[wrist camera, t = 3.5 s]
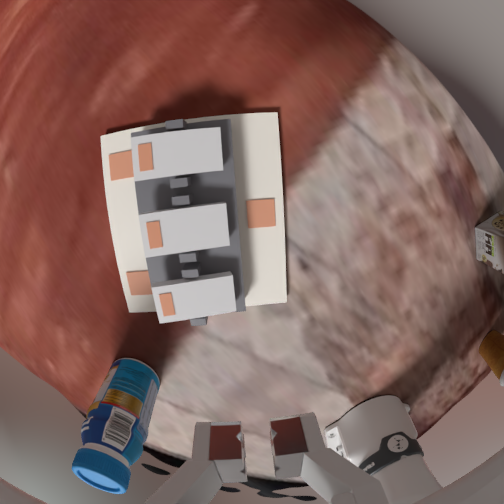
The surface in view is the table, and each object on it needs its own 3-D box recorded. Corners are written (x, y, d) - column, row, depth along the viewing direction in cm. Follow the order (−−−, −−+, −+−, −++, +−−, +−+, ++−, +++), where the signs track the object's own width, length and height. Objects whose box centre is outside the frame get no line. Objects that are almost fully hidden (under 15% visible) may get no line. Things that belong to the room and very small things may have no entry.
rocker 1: (221, 170, 25) (223, 170, 24) (136, 181, 23) (134, 181, 22) (218, 129, 24) (220, 126, 23) (132, 139, 22) (130, 137, 21)
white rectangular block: (234, 306, 30) (236, 311, 28) (159, 317, 28) (159, 324, 26) (230, 271, 28) (232, 275, 27) (152, 283, 26) (151, 288, 25)
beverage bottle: (170, 391, 39) (148, 501, 20) (127, 396, 39) (94, 492, 20) (146, 351, 36) (103, 466, 17) (101, 358, 36) (50, 457, 17)
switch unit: (285, 298, 35) (295, 324, 29) (131, 308, 34) (115, 334, 28) (276, 113, 28) (285, 101, 22) (104, 136, 27) (78, 132, 21)
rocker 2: (227, 242, 27) (230, 245, 26) (146, 254, 26) (145, 258, 24) (223, 201, 26) (226, 203, 25) (140, 213, 24) (138, 215, 23)
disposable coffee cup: (496, 346, 43) (525, 373, 32) (471, 366, 44) (499, 397, 32) (503, 316, 40) (536, 341, 29) (477, 336, 41) (510, 367, 29)
